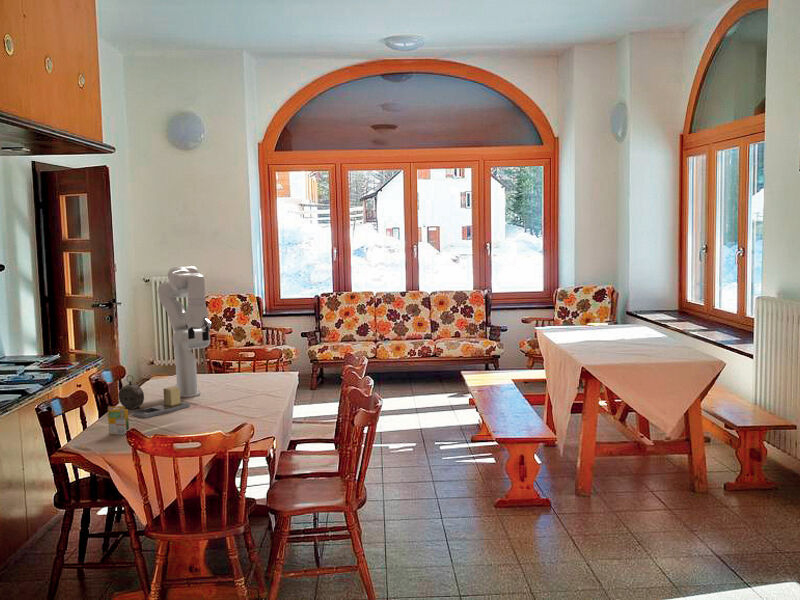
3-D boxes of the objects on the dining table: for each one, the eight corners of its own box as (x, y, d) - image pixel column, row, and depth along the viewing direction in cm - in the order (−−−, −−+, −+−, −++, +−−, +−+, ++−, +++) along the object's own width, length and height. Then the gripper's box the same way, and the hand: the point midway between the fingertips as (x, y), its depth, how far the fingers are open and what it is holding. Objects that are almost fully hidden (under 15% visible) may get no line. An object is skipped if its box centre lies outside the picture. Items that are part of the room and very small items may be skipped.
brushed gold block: (164, 408, 381) (163, 388, 380) (173, 406, 385) (172, 386, 384) (171, 409, 378) (170, 389, 377) (180, 407, 382) (179, 387, 381)
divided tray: (132, 417, 370) (132, 411, 369) (176, 406, 389) (176, 400, 389) (145, 420, 364) (145, 414, 364) (189, 408, 383) (189, 403, 383)
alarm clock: (145, 410, 383) (143, 374, 381) (138, 413, 378) (136, 377, 376) (124, 408, 386) (123, 373, 384) (117, 411, 381) (115, 375, 379)
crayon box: (129, 432, 345) (127, 404, 344) (126, 434, 342) (125, 406, 341) (111, 432, 346) (110, 404, 345) (108, 434, 343) (107, 406, 342)
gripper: (177, 301, 387) (179, 339, 389) (203, 304, 377) (204, 342, 379) (190, 300, 393) (192, 336, 395) (216, 302, 383) (217, 340, 385)
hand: (198, 339), depth 387 cm, fingers open, 9 cm apart
